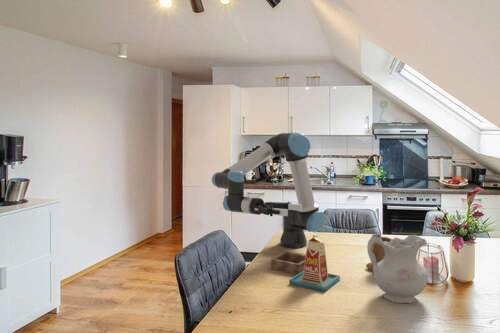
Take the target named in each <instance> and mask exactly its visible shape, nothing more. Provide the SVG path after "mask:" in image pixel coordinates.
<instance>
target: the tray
mask: <svg viewBox="0 0 500 333" xmlns="http://www.w3.org/2000/svg"><path fill="white" fill-rule="evenodd" d="M302 276H303V271H302V272H300V273H299V274H295V275H294V276H293V277H291V278H290V279H289V280H288V283H289V285H291V286H295V287H298V288H299V287H300V288H304V289H309V290H314V291H318V292H322V293H326V292H327V291H329V289H331V288H332V287H333V286H335V285H336V284H337V283H339V282H340V280H341V276H340V275H339V274H334V273H330V272H328V280H327V281H326V282H325V283H324V284H323V285H317V284H312V283H307V282H302Z"/></svg>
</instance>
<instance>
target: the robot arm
mask: <svg viewBox="0 0 500 333" xmlns="http://www.w3.org/2000/svg"><path fill="white" fill-rule="evenodd" d="M310 151H311V141H310V140H309V138H308V136H306V135H305V134H304V133H302V132H301V133H299V132H282V133H278V134H276V135H274V136H272V137H270V138H269V139H268V140H266V141H264V142H262V144H261V145H260V147H258V148H257V149H255V150H254V151H252V152H250V153H249V154H247V155H246V156H244V157H243V158H241V159H240V160H239V161H237V162H235V163H233V164H232V165H231V166H229V167H228V168H226V169H224V170H223V171H219V172H215V173H213V175H212V177H211V183H212V185H213V186H214V187H216V188H219V189H225V190H227V195H225V196H224V197H223V201H222V206H223V209H224V210H225V211H228V212H231V213H232V212H234V213H243V214H250V215H259V216H260V215H266V216H269V217H274V216H282V219H283V220H282V222H283V223H282V224H283V226H282V227H283V228H282V230H283V231H282V233H281V237H280V241H279V244H280V245H281V246H282V247H286V248H290V249H291V248H292V249H293V248H294V249H297V248H298V249H299V248H303V247H304V248H305V247H307V246H308V240H307V238H306V234H305V231H307V232H310V233H317V232H320V231H321V230H322V229H323V227H324V225H325V224H326V215H325V213H324V212H322V210H320V208H319V204H318V203H316V202H315V198H314V193H313V189H312V183H311V179H310V178H311V177H310V174H309V168H308V164H307V160H308V157H309V155H308V154H309V153H310ZM277 156H284V158H285V161H286V162H287V164H289V167H290V172H291V175H292V176H291V177H292V181H293V184H294V190H295V193H296V194H295V195H296V198H297V203H291V202H290V201H288V202H283V201H282V202H278V201H277V202H274V201H272V202H271V201H266V202H265V201H264V199H263V198H260V197H252V196H251V197H250V196H249V195H247V196H245V193H244V192H245V188H244V187H245V175H246V174H248V173H249V172H251V171H253V169H256V168H257V167H258V166H260V165H262V163H264V162H266V161H268V160H270V159H274V158H276V157H277Z"/></svg>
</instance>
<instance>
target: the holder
mask: <svg viewBox="0 0 500 333" xmlns="http://www.w3.org/2000/svg"><path fill="white" fill-rule="evenodd" d="M305 259H306V254H300V253H294V252H288V251H285V252H283V253H281V254H279V255H277V256H275V257H273V258H271V260H270V262H271V264H270V266H271V268H270V269H271V270H274V271H280V272H285V273H291V274H294V275H297V274H299V273H300V272H302V271H304V266H305Z"/></svg>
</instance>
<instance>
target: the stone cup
mask: <svg viewBox="0 0 500 333" xmlns="http://www.w3.org/2000/svg"><path fill="white" fill-rule="evenodd" d="M381 238H382V241H383V242H384V241H386V242H390V241H391V240H392V239H393V238H390V237H388V236H381ZM373 253H374V255H375V258H376V262H377V263H379V262H380V261H382V260H383V259H384V257H385V250H384V248H383V247H382V246H381V245H380V244H379V243H375V244H374V245H373ZM365 268H367V269H369V270H371V271H373V264H372V262H371V261H370V262H368V263H367V264H365Z"/></svg>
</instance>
